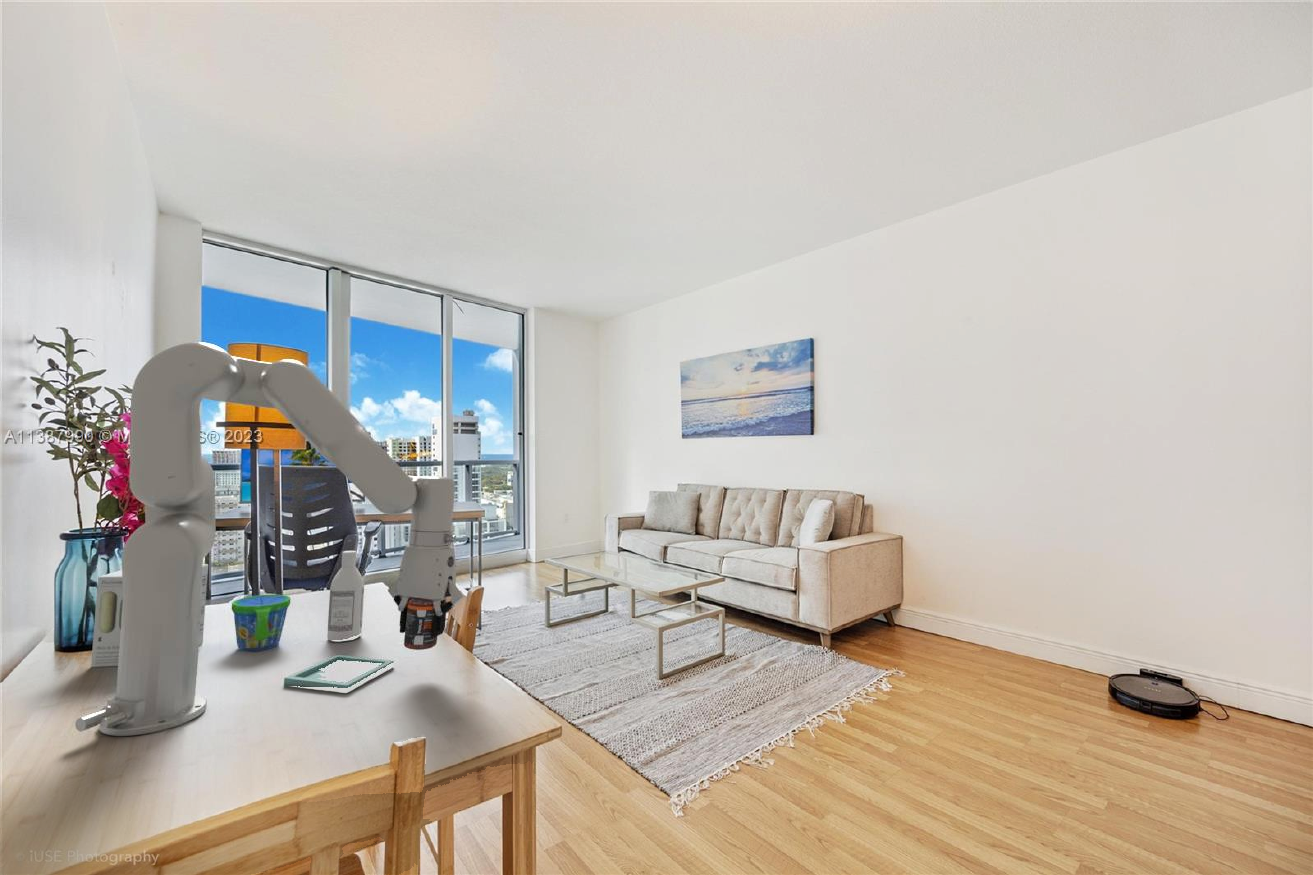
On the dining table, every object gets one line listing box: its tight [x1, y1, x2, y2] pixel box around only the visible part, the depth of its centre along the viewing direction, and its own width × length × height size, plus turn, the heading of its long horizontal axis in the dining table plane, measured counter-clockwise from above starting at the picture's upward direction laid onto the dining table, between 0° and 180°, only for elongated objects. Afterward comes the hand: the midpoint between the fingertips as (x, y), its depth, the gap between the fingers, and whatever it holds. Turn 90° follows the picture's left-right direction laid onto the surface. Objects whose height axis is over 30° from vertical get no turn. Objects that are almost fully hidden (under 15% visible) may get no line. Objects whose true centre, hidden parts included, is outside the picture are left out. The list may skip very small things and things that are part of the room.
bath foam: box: [327, 550, 365, 641], centre depth 130 cm, size 7×7×20 cm
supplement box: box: [90, 563, 209, 668], centre depth 116 cm, size 13×13×18 cm
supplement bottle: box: [403, 598, 439, 651], centre depth 108 cm, size 6×6×11 cm
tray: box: [283, 654, 395, 688], centre depth 107 cm, size 13×13×2 cm
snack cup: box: [231, 594, 291, 652], centre depth 123 cm, size 16×10×10 cm
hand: (421, 632), depth 108 cm, fingers closed on supplement bottle, 6 cm apart
